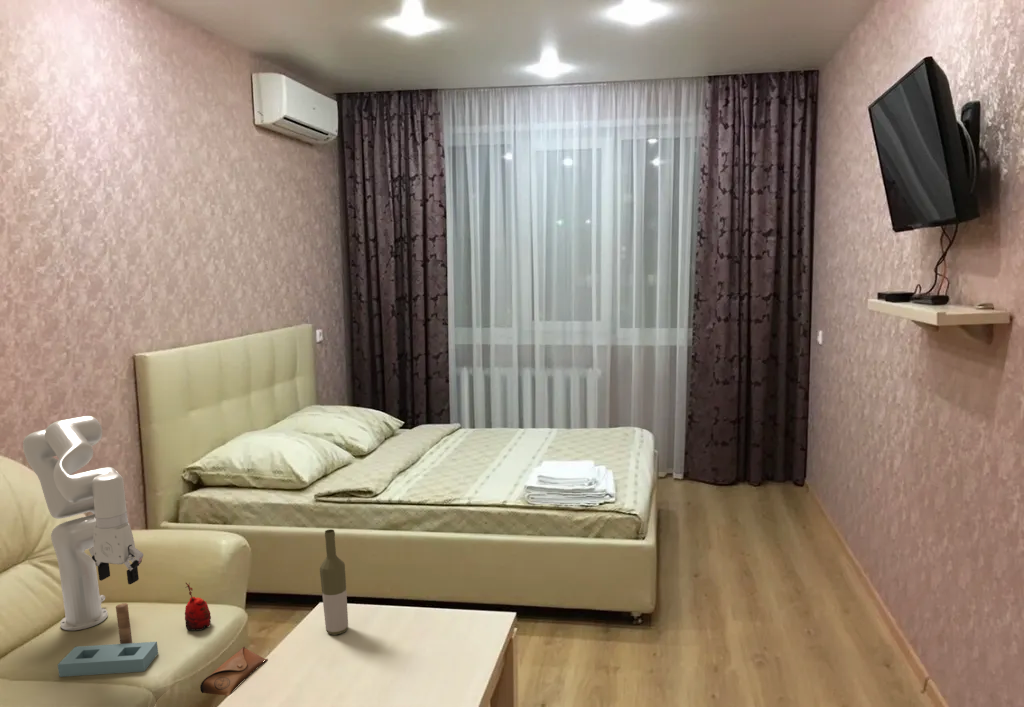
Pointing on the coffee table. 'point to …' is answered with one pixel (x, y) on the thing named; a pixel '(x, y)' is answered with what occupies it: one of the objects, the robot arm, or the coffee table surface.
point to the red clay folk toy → (196, 613)
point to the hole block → (108, 659)
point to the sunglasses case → (232, 673)
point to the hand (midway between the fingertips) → (119, 580)
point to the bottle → (334, 588)
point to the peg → (123, 623)
